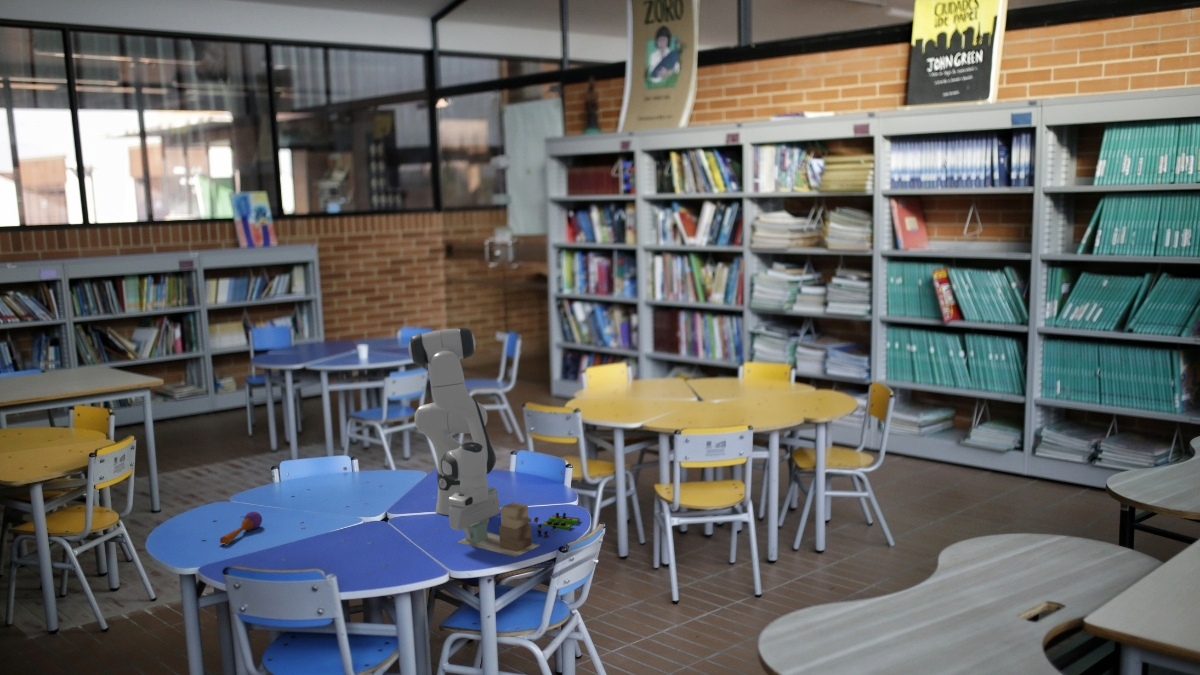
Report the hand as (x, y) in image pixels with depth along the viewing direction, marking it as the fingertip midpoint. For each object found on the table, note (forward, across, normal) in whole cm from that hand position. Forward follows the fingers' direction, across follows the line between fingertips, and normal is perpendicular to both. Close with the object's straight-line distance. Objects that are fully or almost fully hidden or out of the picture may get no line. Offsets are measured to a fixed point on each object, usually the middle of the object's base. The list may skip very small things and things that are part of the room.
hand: (476, 535), depth 314 cm
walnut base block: (+1, -2, +15) cm, 15 cm away
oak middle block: (-6, -2, +15) cm, 16 cm away
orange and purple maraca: (+3, +36, -75) cm, 83 cm away
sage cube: (+1, 0, 0) cm, 1 cm away
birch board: (+3, -1, +8) cm, 9 cm away
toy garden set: (+4, -21, +9) cm, 23 cm away
